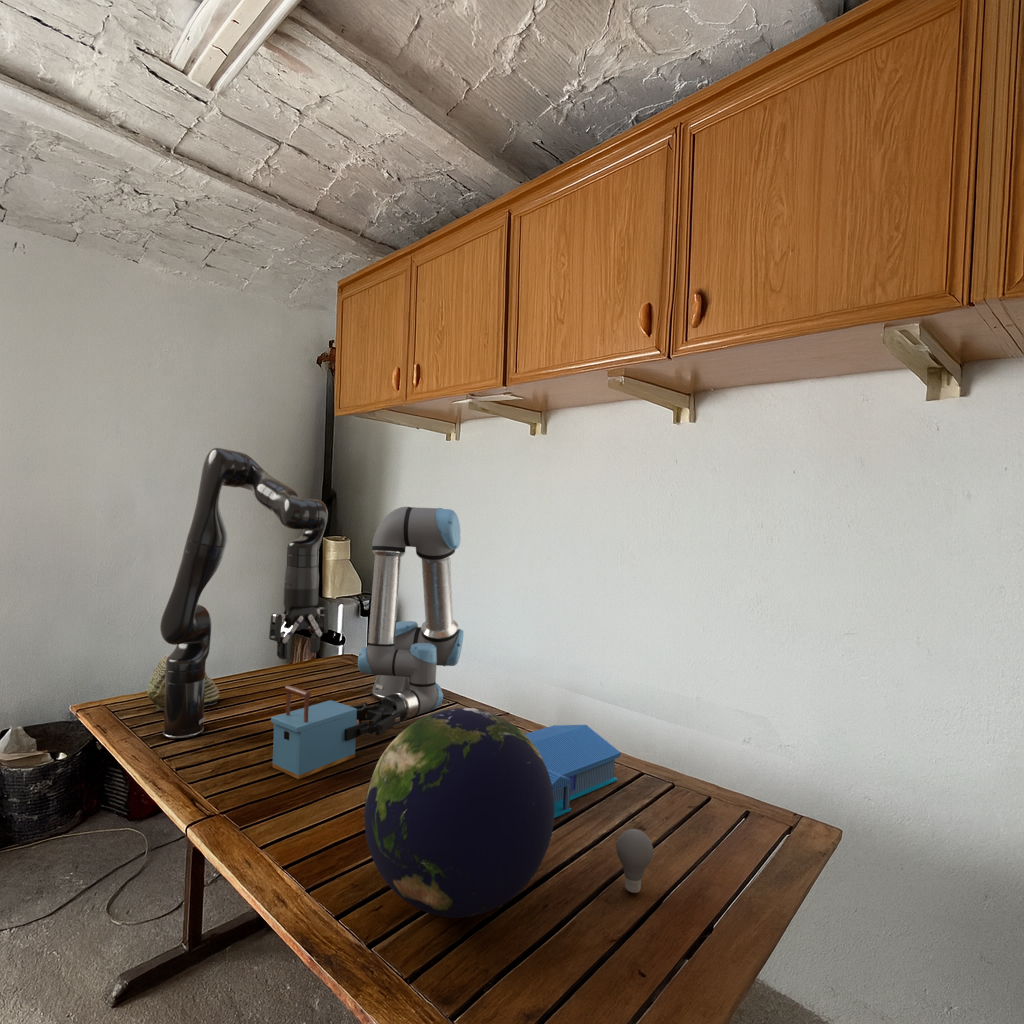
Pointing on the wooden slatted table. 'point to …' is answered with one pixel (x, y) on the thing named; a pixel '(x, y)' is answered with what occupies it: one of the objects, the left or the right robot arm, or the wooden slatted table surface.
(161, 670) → the fossil
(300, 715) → the lid
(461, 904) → the globe
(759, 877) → the wooden slatted table surface
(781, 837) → the wooden slatted table surface
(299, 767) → the chest
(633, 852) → the light bulb
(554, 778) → the model building
